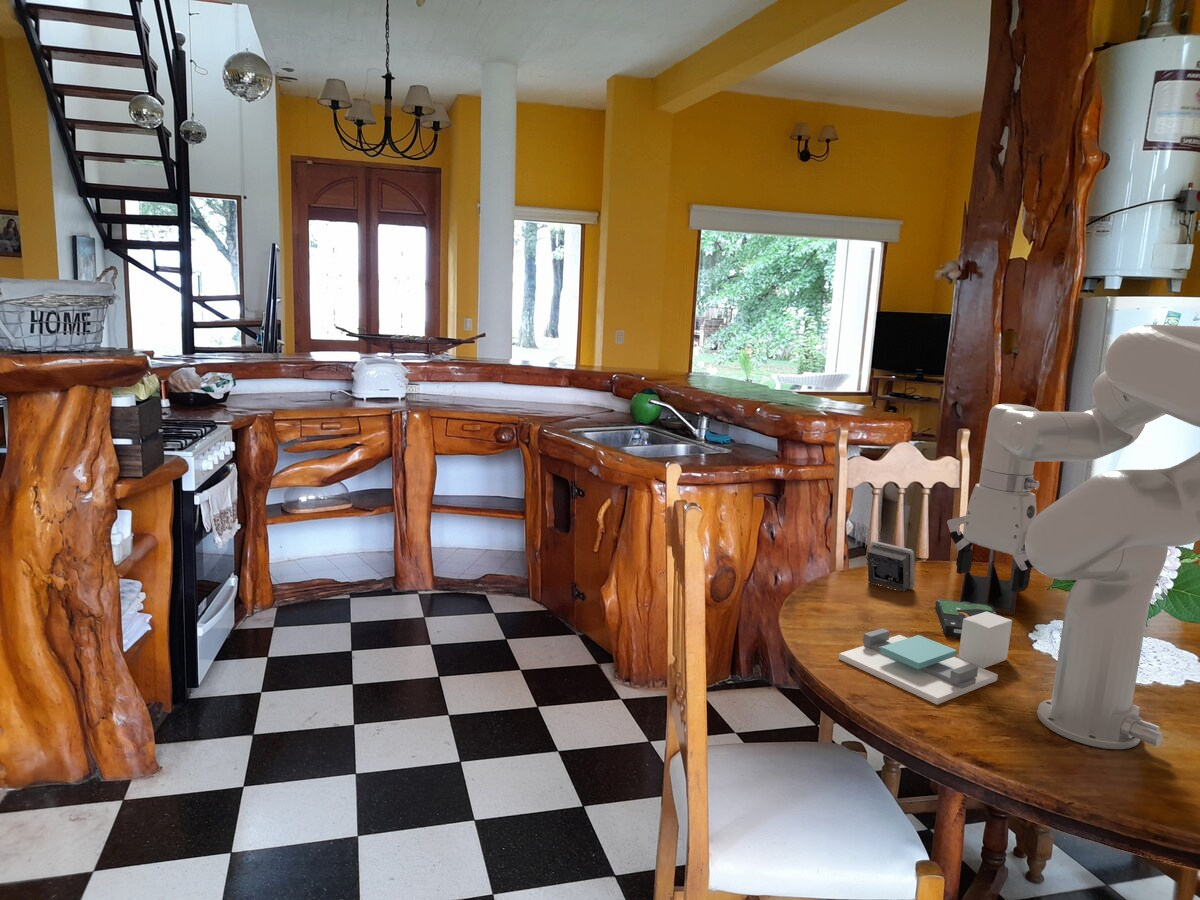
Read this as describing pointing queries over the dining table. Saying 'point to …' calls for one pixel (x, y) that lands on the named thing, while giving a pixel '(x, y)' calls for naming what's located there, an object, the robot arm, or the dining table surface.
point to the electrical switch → (891, 566)
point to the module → (985, 639)
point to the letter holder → (990, 589)
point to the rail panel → (917, 670)
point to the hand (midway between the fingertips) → (990, 581)
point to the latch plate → (918, 651)
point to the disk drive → (958, 614)
